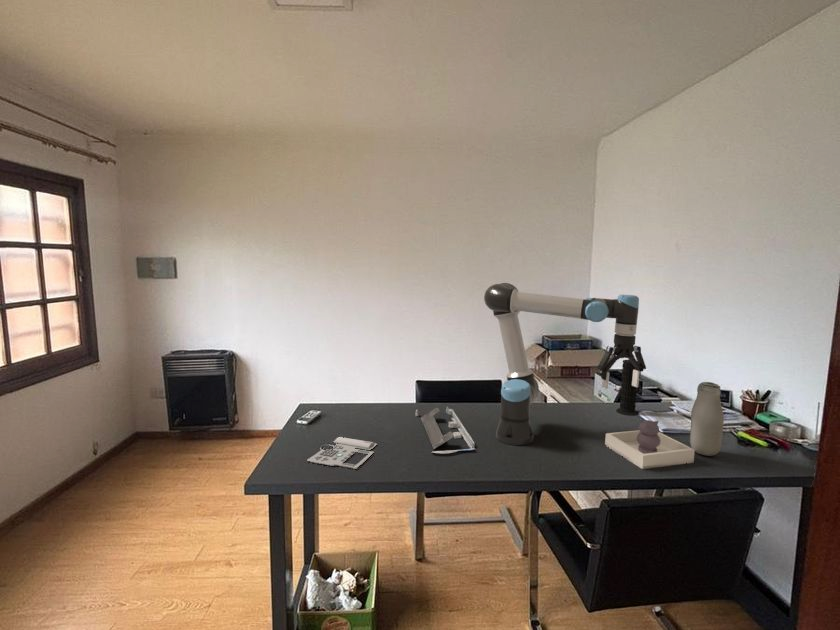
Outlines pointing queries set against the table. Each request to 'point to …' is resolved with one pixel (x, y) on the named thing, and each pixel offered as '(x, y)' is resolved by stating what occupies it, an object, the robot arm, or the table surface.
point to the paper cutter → (439, 439)
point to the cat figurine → (648, 437)
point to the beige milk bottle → (707, 420)
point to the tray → (665, 455)
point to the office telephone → (343, 452)
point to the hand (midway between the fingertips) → (620, 387)
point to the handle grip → (627, 391)
